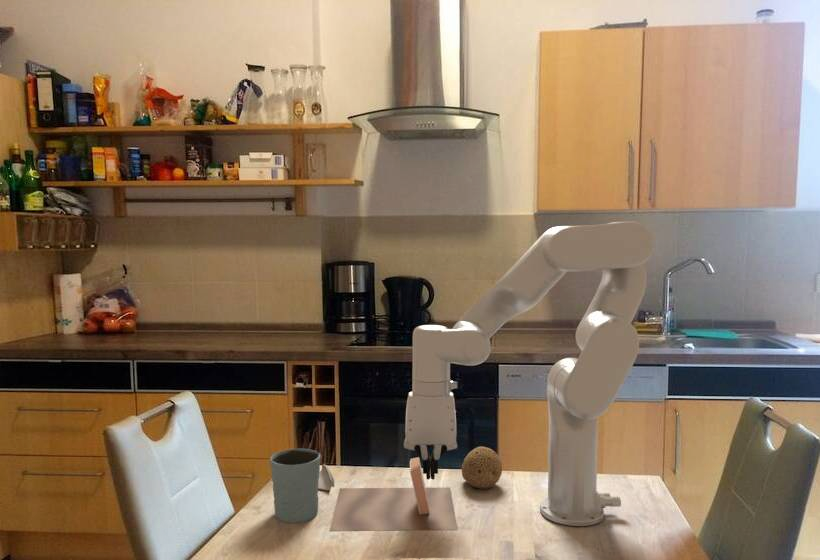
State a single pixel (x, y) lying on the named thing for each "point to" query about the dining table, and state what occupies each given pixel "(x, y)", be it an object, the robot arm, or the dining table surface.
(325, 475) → the ceramic fragment
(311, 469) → the grey green cup
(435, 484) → the dining table surface
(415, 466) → the tile
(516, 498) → the dining table surface
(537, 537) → the dining table surface
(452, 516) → the board
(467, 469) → the natural sponge
